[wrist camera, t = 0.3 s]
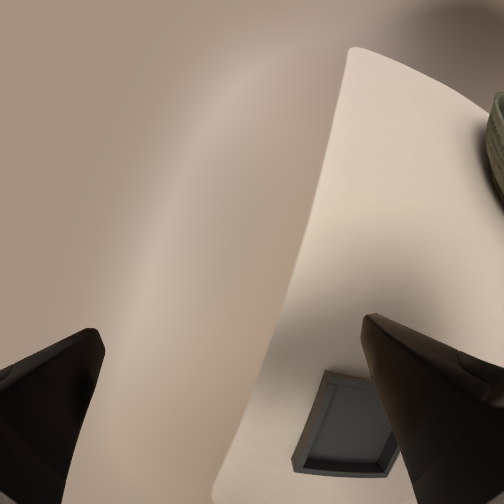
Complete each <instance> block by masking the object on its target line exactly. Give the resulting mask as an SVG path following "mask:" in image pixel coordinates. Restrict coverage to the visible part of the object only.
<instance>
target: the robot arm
mask: <svg viewBox="0 0 504 504" xmlns="http://www.w3.org/2000/svg"><path fill="white" fill-rule="evenodd" d="M361 344H362V347H363V350H364V353H365V357H366V360H367V364H368V367H369V370H370V374H371V377H372V380H373V383H374V385H375V388H376V390H377V392H378V395H379V397H380V400H381V402H382V404H383V407H384V409H385V412H386V414H387V417H388V419H389V422H390V425H391V427H392V430H393V432H394V435H395V438H396V440H397V443H398V446H399V448H400V451H401V454H402V457H403V460H404V462H405V465H406V468H407V471H408V474H409V477H410V480H411V483H412V485H413V486H412V487H413V490H414V493H415V496H416V499H417V503H418V504H504V368H502V367H499V366H496V365H494V364H491V363H488V362H485V361H483V360H480V359H478V358H475V357H473V356H471V355H468V354H466V353H464V352H462V351H458V350H457V349H455V348H452V347H450V346H448V345H446V344H444V343H441V342H439V341H437V340H435V339H432V338H430V337H428V336H426V335H424V334H421V333H419V332H417V331H415V330H412V329H410V328H408V327H406V326H404V325H401V324H399V323H397V322H395V321H393V320H390V319H388V318H386V317H384V316H382V315H379V314H377V313H373V314H367V315H365V316H364V318H363V324H362V330H361ZM104 356H105V347H104V344H103V342H102V339H101V337H100V334H99V332H98V330H96V329H95V328H86V329H83V330H81V331H79V332H77V333H75V334H73V335H71V336H69V337H67V338H65V339H63V340H61V341H59V342H57V343H55V344H53V345H51V346H49V347H47V348H45V349H43V350H41V351H39V352H37V353H35V354H33V355H30V356H28V357H26V358H24V359H22V360H20V361H18V362H16V363H15V364H12V365H10V366H8V367H6V368H4V369H2V370H0V504H61V502H62V497H63V493H64V488H65V484H66V481H65V480H66V479H67V475H68V471H69V467H70V464H71V460H72V456H73V453H74V449H75V446H76V443H77V440H78V436H79V433H80V430H81V427H82V424H83V421H84V418H85V415H86V412H87V409H88V407H89V404H90V401H91V398H92V396H93V393H94V390H95V387H96V384H97V380H98V377H99V373H100V369H101V366H102V362H103V359H104Z"/></svg>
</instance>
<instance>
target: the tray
mask: <svg viewBox="0 0 504 504" xmlns="http://www.w3.org/2000/svg"><path fill="white" fill-rule="evenodd" d="M399 452H400V448H399V446H398V443H397V440H396V438H395V435H394V432H393V430H392V427H391V425H390V422H389V419H388V417H387V414H386V412H385V409H384V407H383V404H382V402H381V400H380V397H379V395H378V392H377V390H376V388H375V385H374V383H373V380H372V379H366V378H360V377H354V376H349V375H344V374H339V373H334V372H329V371H324V374H323V377H322V380H321V383H320V386H319V389H318V392H317V395H316V398H315V401H314V403H313V406H312V409H311V411H310V414H309V417H308V419H307V422H306V425H305V427H304V430H303V432H302V435H301V437H300V439H299V442H298V444H297V447H296V449H295V451H294V453H293V456H292V458H291V460H292V465H293V470H294V472H297V473H304V474H312V475H322V476H333V477H352V478H386V477H387V476H388V474H389V472H390V470H391V468H392V466H393V465H394V463H395V461H396V459H397V457H398V454H399Z"/></svg>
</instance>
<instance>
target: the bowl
mask: <svg viewBox="0 0 504 504" xmlns="http://www.w3.org/2000/svg"><path fill="white" fill-rule="evenodd" d="M486 147H487V152H488V157H489V161H490V172H491V176H492V179H493V182H494V185H495V187H496V189H497V191H498V193H499V195H500V197H501V198H502V200H503V202H504V92H499V93H497V94H495V98H494V103H493V107H492V110H491V113H490V115H489V119H488V124H487V130H486Z"/></svg>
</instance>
